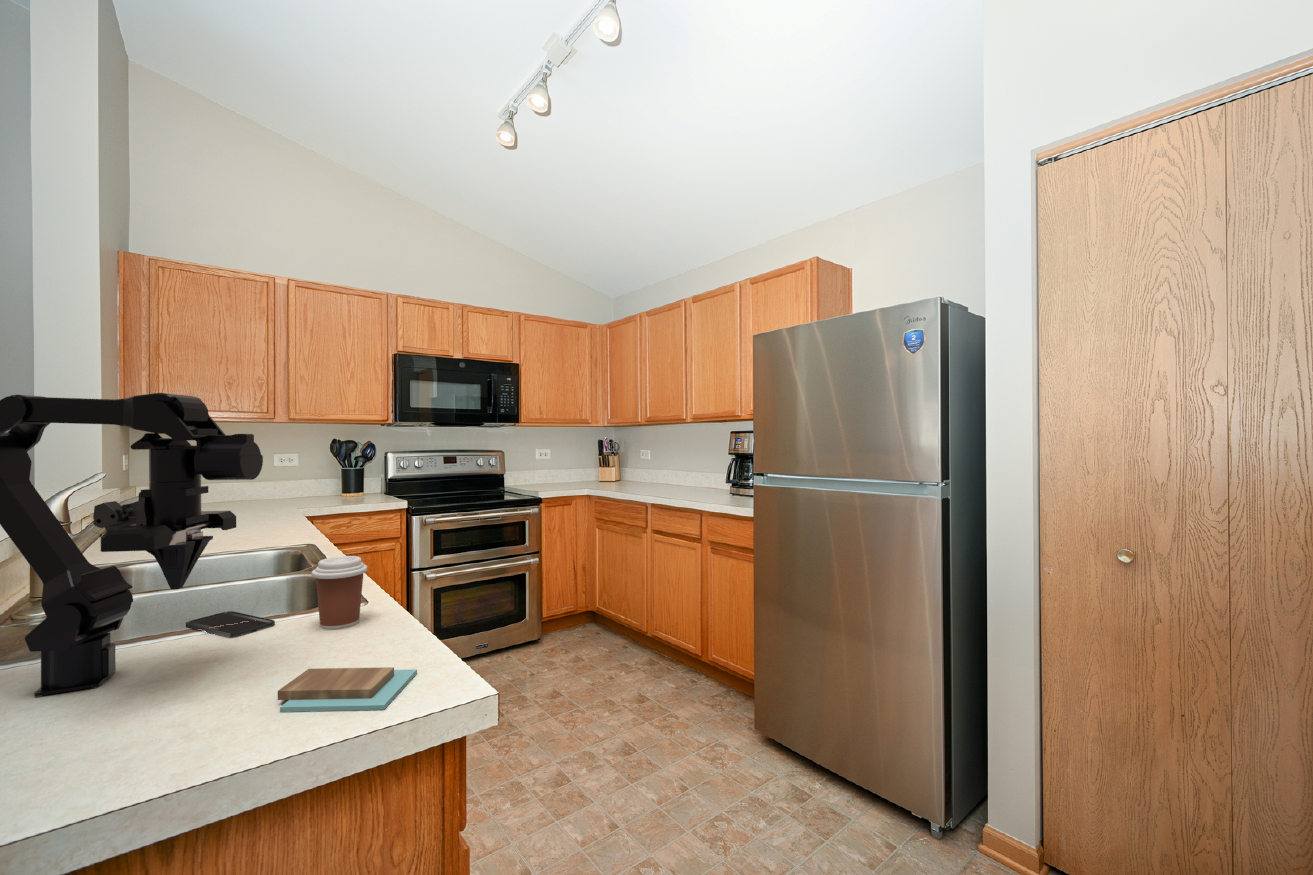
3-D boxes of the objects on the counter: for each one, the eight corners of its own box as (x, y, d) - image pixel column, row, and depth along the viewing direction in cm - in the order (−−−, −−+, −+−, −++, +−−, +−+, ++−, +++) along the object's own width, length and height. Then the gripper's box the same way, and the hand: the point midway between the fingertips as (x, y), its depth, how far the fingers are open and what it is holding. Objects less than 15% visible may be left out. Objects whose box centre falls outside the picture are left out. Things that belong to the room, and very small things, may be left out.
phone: (229, 610, 110) (277, 620, 104) (229, 616, 110) (277, 626, 104) (182, 622, 103) (230, 634, 97) (182, 628, 103) (230, 641, 97)
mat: (279, 711, 71) (279, 707, 71) (327, 674, 82) (327, 670, 82) (384, 709, 72) (384, 705, 72) (417, 673, 83) (417, 669, 83)
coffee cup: (358, 630, 101) (358, 564, 101) (302, 633, 99) (303, 566, 99) (373, 614, 110) (373, 553, 110) (322, 617, 108) (322, 555, 108)
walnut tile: (277, 690, 73) (371, 689, 73) (308, 668, 80) (394, 667, 80) (277, 699, 73) (371, 698, 73) (308, 676, 80) (394, 675, 80)
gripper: (161, 476, 89) (162, 574, 89) (51, 487, 70) (52, 611, 70) (238, 475, 90) (238, 572, 90) (150, 486, 72) (151, 607, 72)
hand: (176, 588), depth 81 cm, fingers closed
